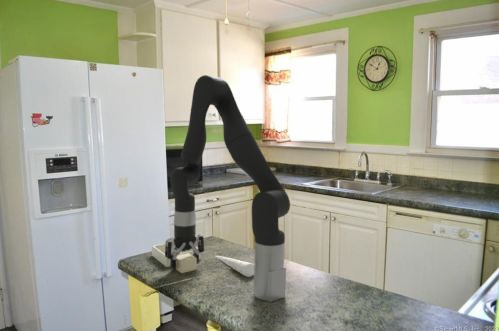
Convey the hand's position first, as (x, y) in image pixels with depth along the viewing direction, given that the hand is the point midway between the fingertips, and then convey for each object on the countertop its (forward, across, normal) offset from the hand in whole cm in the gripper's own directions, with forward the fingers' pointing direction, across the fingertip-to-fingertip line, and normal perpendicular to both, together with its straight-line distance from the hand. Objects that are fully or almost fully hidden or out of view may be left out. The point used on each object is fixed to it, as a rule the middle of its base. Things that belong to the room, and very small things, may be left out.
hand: (184, 266), depth 140 cm
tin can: (+1, +2, +12) cm, 12 cm away
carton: (+2, 0, 0) cm, 2 cm away
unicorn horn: (+2, +16, -7) cm, 17 cm away
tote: (+1, +2, +12) cm, 12 cm away
